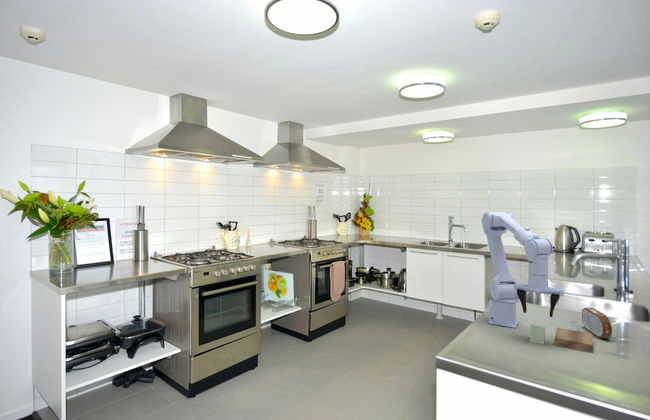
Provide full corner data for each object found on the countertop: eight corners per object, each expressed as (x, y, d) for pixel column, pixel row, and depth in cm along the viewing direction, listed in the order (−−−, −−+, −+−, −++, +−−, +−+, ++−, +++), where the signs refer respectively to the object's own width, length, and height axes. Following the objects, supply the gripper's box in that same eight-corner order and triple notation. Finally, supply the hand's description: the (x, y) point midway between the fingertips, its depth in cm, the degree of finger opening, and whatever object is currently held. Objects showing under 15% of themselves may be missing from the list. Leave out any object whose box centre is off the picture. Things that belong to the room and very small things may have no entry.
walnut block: (554, 346, 117) (554, 337, 117) (557, 335, 126) (557, 327, 126) (592, 354, 111) (592, 345, 111) (592, 342, 120) (592, 333, 120)
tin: (613, 342, 119) (613, 317, 119) (602, 341, 120) (602, 316, 120) (589, 327, 134) (589, 305, 134) (579, 326, 135) (580, 304, 135)
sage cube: (530, 341, 120) (530, 327, 120) (531, 338, 123) (531, 323, 123) (543, 344, 118) (543, 329, 118) (545, 340, 121) (545, 326, 121)
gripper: (512, 273, 121) (511, 313, 121) (563, 278, 113) (562, 321, 113) (515, 270, 127) (515, 308, 127) (564, 275, 118) (563, 315, 118)
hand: (537, 314), depth 120 cm, fingers open, 7 cm apart
